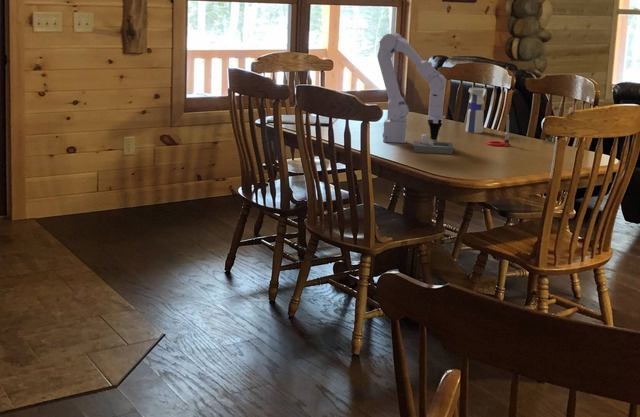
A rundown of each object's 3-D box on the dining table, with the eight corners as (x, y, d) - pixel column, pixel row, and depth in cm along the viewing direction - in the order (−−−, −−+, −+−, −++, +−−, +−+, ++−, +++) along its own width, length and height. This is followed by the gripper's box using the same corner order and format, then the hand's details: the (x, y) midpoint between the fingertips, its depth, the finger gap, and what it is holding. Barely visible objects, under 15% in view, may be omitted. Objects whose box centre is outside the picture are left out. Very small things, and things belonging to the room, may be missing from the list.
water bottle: (486, 131, 394) (491, 76, 387) (479, 133, 387) (484, 77, 380) (469, 129, 398) (474, 74, 391) (462, 131, 391) (466, 75, 384)
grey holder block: (414, 151, 339) (415, 136, 338) (413, 146, 350) (414, 132, 348) (452, 154, 338) (453, 138, 336) (451, 148, 348) (452, 134, 347)
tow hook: (485, 146, 359) (507, 147, 357) (486, 115, 356) (509, 116, 354) (487, 143, 367) (509, 144, 364) (488, 112, 364) (510, 113, 361)
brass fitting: (427, 146, 352) (429, 124, 350) (427, 144, 357) (429, 122, 354) (438, 146, 352) (440, 124, 350) (438, 144, 356) (439, 123, 354)
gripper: (446, 108, 343) (444, 142, 346) (445, 103, 357) (442, 135, 360) (428, 107, 343) (426, 141, 347) (427, 102, 357) (425, 134, 361)
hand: (433, 138), depth 354 cm, fingers closed on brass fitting, 4 cm apart
